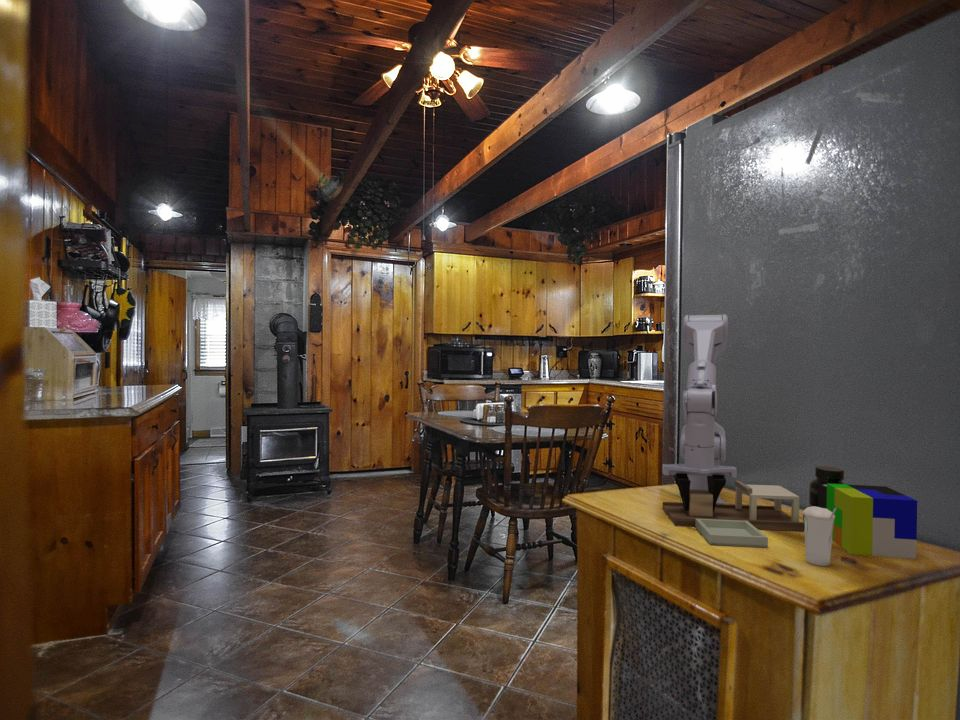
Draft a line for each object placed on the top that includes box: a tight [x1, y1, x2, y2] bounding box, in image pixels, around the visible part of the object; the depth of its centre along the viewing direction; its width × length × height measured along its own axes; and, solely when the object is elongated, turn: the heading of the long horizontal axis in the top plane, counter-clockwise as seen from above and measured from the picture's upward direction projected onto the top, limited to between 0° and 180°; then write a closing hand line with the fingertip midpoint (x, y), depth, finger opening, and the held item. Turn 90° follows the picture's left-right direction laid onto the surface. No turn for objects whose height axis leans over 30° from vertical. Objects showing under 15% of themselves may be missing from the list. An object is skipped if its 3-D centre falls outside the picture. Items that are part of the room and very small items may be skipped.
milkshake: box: [802, 506, 837, 567], centre depth 90 cm, size 4×5×10 cm
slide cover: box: [734, 480, 800, 522], centre depth 113 cm, size 9×10×6 cm
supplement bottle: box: [807, 465, 846, 509], centre depth 108 cm, size 7×7×12 cm
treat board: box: [662, 501, 804, 532], centre depth 113 cm, size 12×24×2 cm, turn 83°
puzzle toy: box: [827, 483, 918, 560], centre depth 98 cm, size 10×10×10 cm
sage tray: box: [694, 519, 769, 549], centre depth 102 cm, size 10×10×2 cm
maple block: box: [687, 489, 713, 517], centre depth 114 cm, size 4×4×4 cm
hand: (698, 510), depth 114 cm, fingers closed on maple block, 4 cm apart
